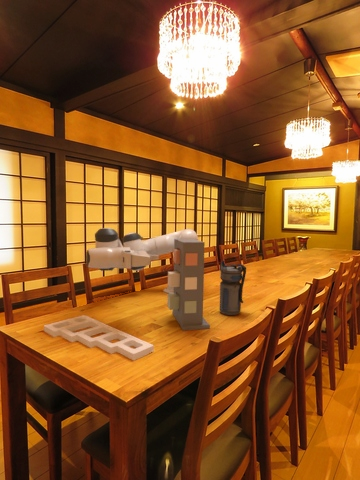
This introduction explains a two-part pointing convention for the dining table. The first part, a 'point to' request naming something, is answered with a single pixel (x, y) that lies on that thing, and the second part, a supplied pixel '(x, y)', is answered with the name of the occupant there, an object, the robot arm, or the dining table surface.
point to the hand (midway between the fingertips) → (158, 257)
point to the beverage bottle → (231, 288)
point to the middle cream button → (174, 279)
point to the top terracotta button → (176, 256)
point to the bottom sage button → (173, 301)
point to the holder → (80, 322)
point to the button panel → (190, 284)
